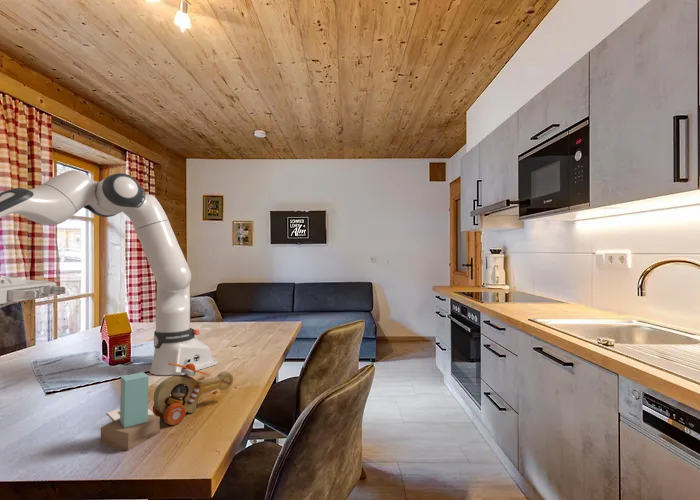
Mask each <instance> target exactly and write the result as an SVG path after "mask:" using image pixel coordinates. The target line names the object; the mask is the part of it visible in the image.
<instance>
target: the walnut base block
mask: <svg viewBox="0 0 700 500" xmlns="http://www.w3.org/2000/svg"><path fill="white" fill-rule="evenodd" d="M160 418H161V417H158V416H153V415H148V422H145V423H141V424H137V425H134V426H130V427H126V428H124V427H123V425H122V424H121V422H120V419H117V420H115V421H114V420H113V421H111V422H108V423H107V424H104V425H103V426H101V427H100V436H99V437H100V441H99V442H100V443H99V444H100V445H101V446H107V447H111V448H115V449H118V450H119V449H120V450H122V451H123V450H124V451H130V449H131V450H132V449H134V448H136V447H138V446H139V445H141V444H143V443H144V442H146V441H148V440H150V439H151V438H153V437H154V436H156V435H158V434H160V431H161V430H160V429H161V428H160V427H161V419H160Z"/></svg>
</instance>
